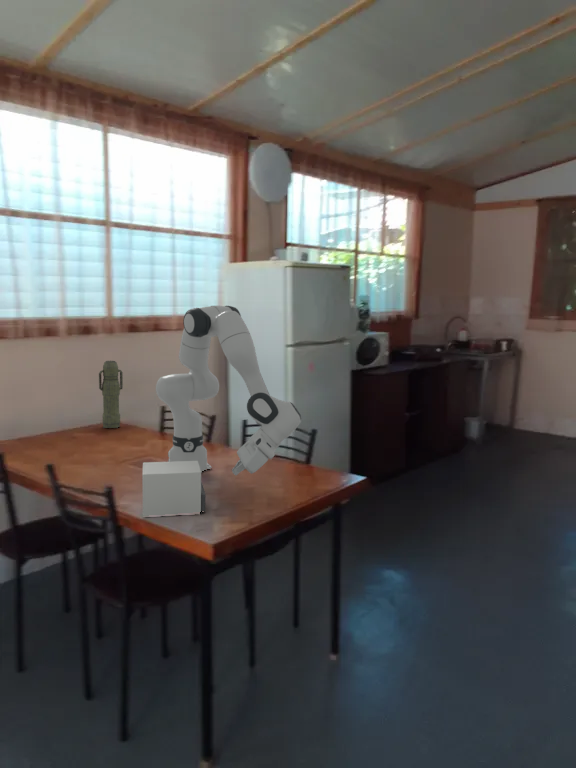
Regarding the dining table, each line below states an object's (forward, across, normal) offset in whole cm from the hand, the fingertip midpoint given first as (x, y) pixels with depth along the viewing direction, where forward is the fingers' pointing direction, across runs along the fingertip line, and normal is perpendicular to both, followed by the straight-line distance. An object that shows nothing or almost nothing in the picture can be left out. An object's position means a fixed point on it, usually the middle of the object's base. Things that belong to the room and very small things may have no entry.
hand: (233, 473), depth 199 cm
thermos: (+41, -131, -25) cm, 140 cm away
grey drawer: (+21, 0, -5) cm, 21 cm away
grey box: (+22, 0, -6) cm, 23 cm away
